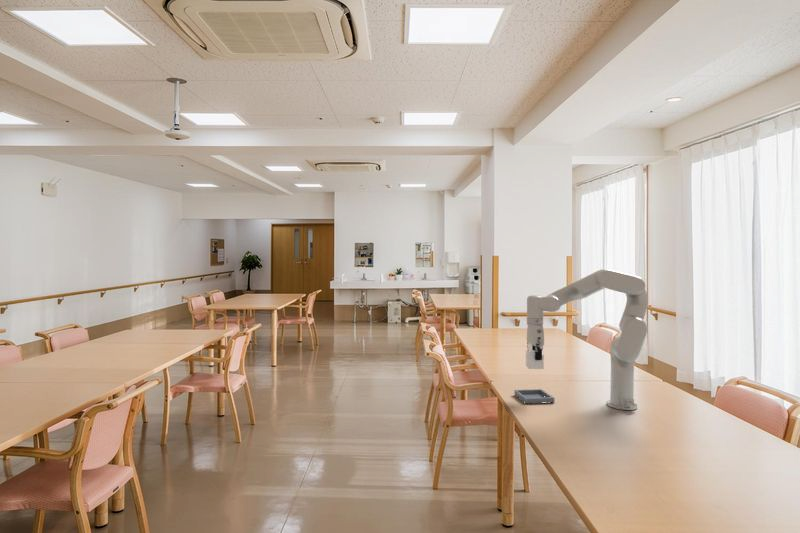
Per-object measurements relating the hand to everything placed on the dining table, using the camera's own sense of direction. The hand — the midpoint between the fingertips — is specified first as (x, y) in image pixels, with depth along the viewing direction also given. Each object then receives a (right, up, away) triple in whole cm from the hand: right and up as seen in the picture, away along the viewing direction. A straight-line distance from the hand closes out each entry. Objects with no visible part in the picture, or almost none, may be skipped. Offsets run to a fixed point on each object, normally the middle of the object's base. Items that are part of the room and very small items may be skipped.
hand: (534, 357), depth 216 cm
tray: (0, -20, 0) cm, 20 cm away
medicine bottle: (0, -5, 0) cm, 5 cm away
